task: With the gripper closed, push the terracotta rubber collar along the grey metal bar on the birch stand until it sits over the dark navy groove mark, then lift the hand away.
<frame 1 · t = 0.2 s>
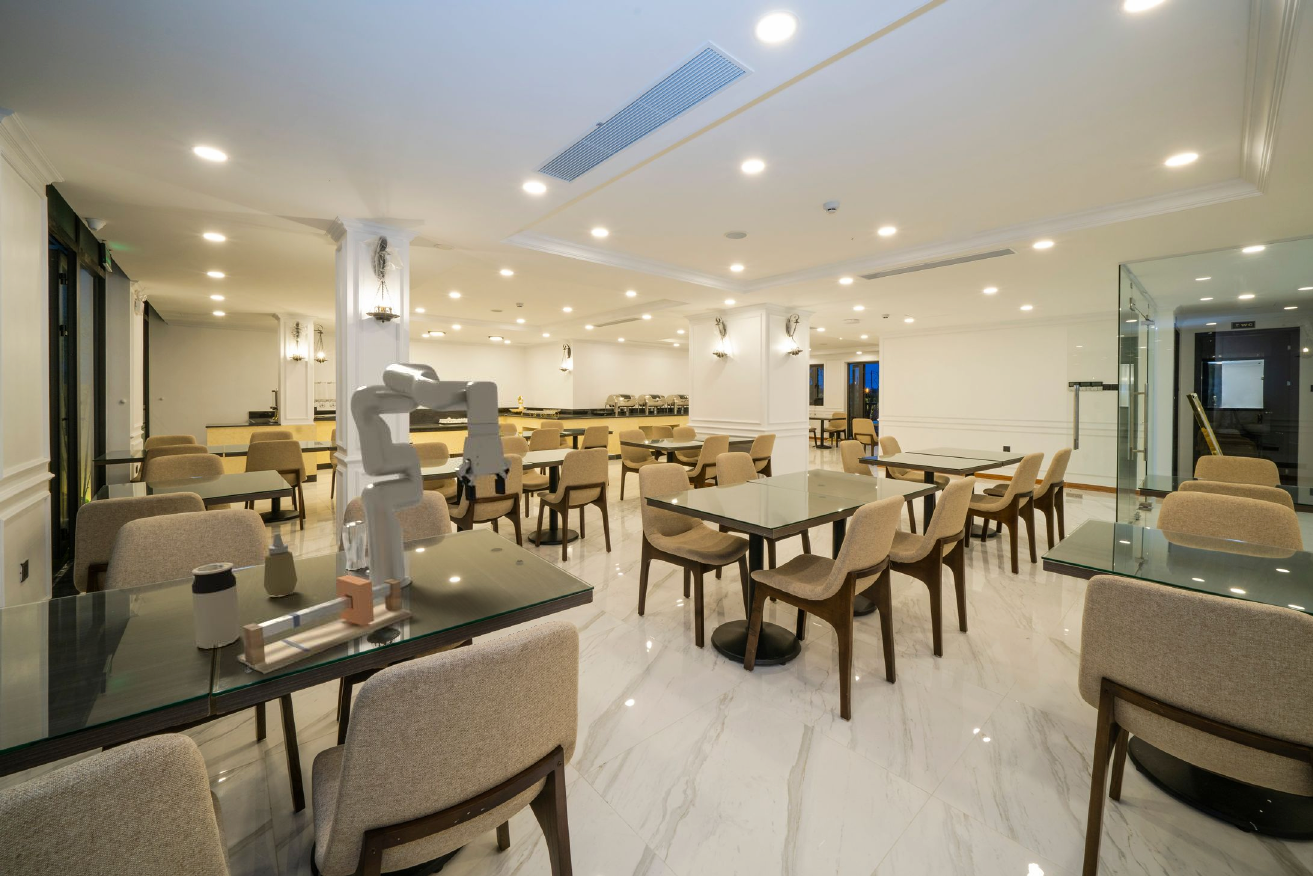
hand: (486, 497, 140), 31 cm above the table, tool pointing down, fingers open, 9 cm apart
squeeze bottle: (281, 595, 159), on the table
beer glass: (356, 568, 183), on the table
collar: (355, 599, 135), point 7 cm above the table, slide at 0.0 cm
travel mug: (219, 643, 128), on the table
pipe stand: (332, 636, 131), on the table
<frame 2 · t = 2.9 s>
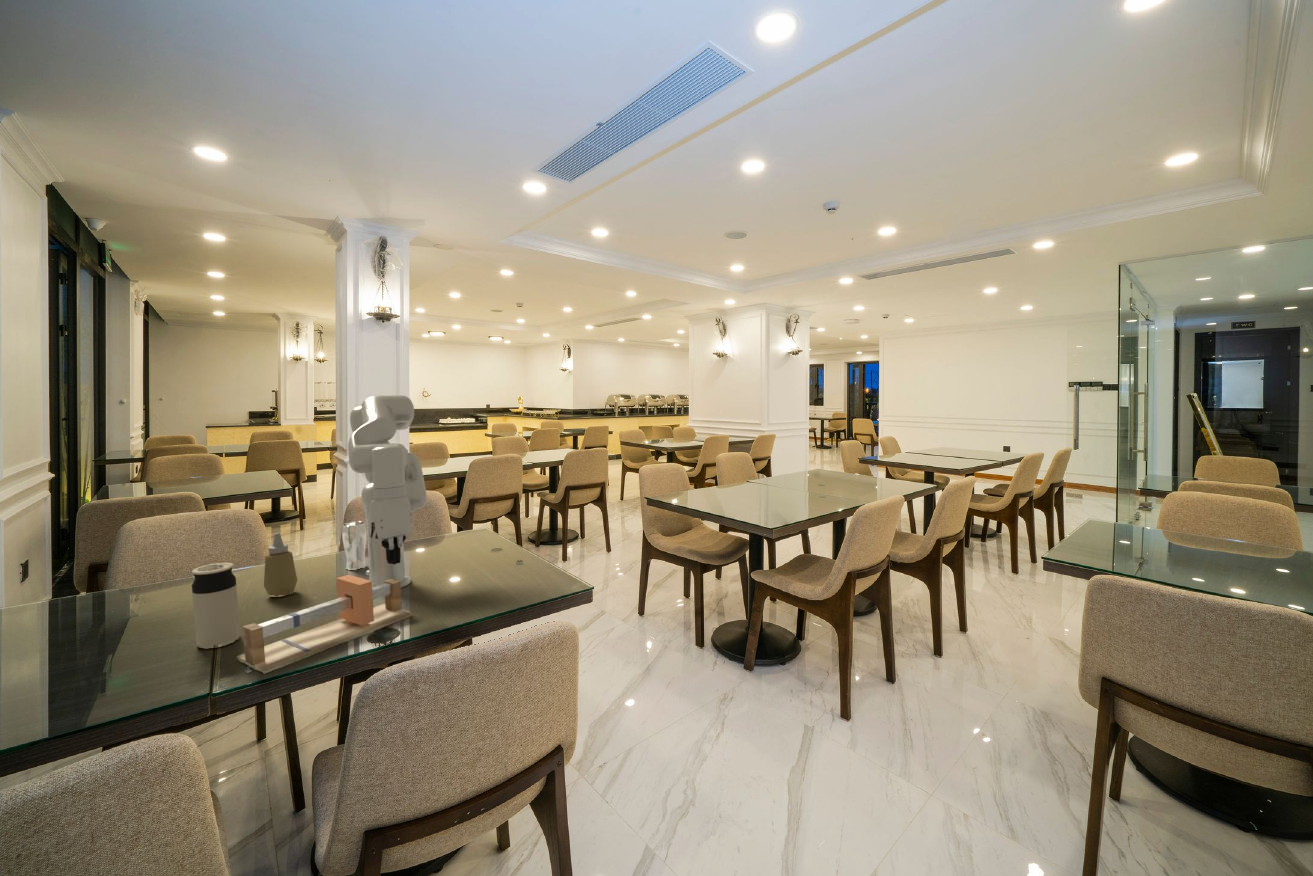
hand: (393, 563, 143), 13 cm above the table, tool pointing down, fingers closed
nothing on the table moved.
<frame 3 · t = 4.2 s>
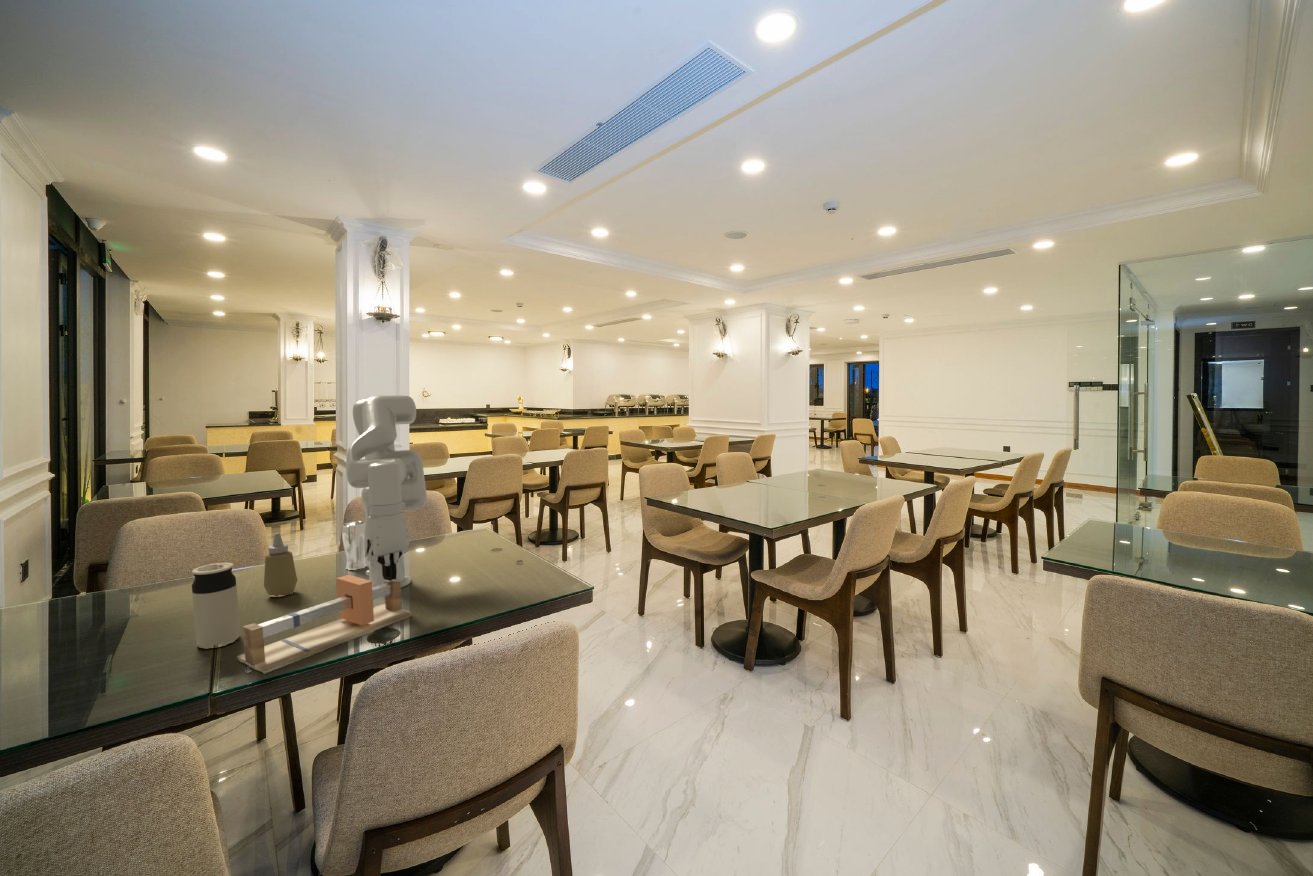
hand: (389, 578, 143), 9 cm above the table, tool pointing down, fingers closed
nothing on the table moved.
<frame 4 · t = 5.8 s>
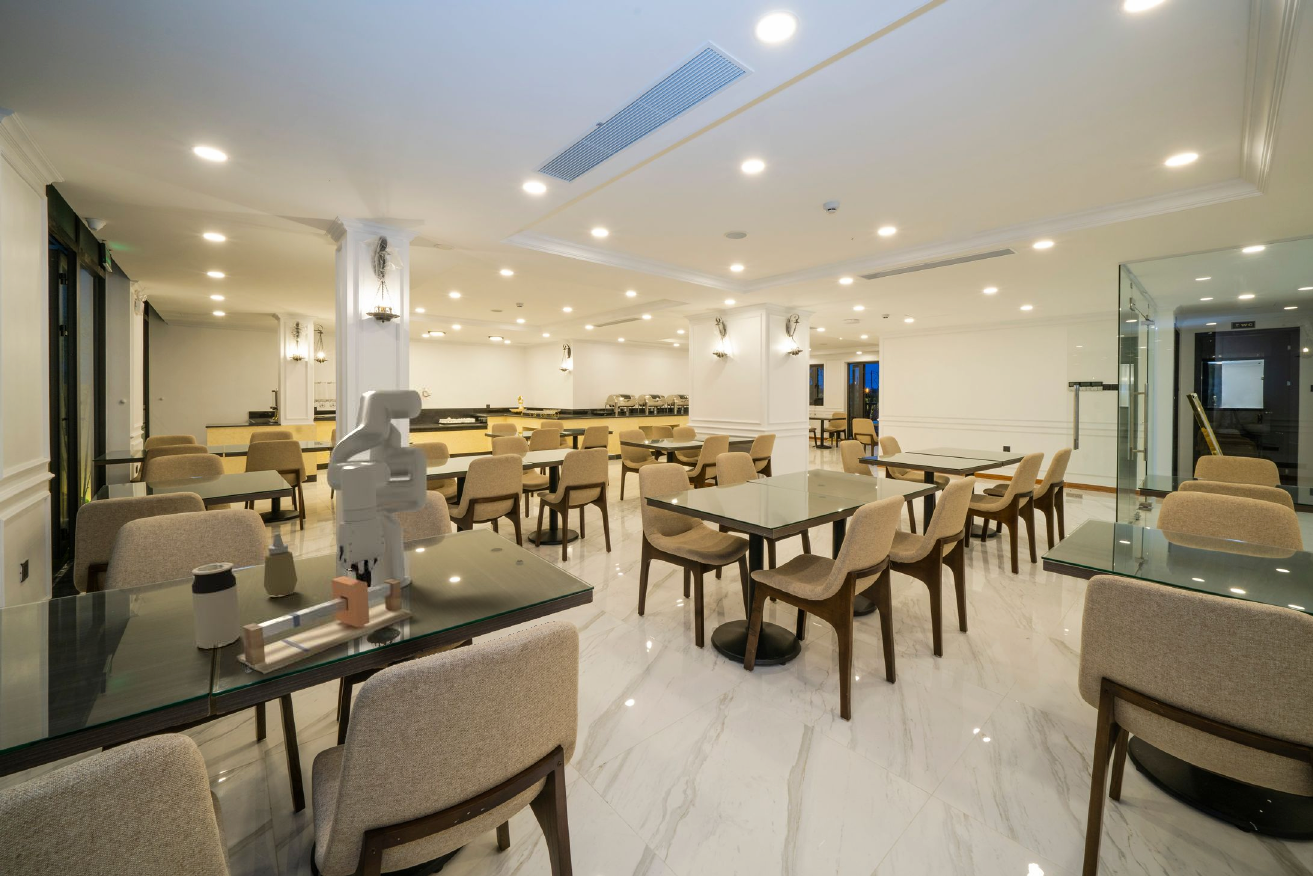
hand: (364, 586, 137), 9 cm above the table, tool pointing down, fingers closed
collar: (350, 601, 134), point 7 cm above the table, slide at 1.2 cm, touching gripper
everything else where it was.
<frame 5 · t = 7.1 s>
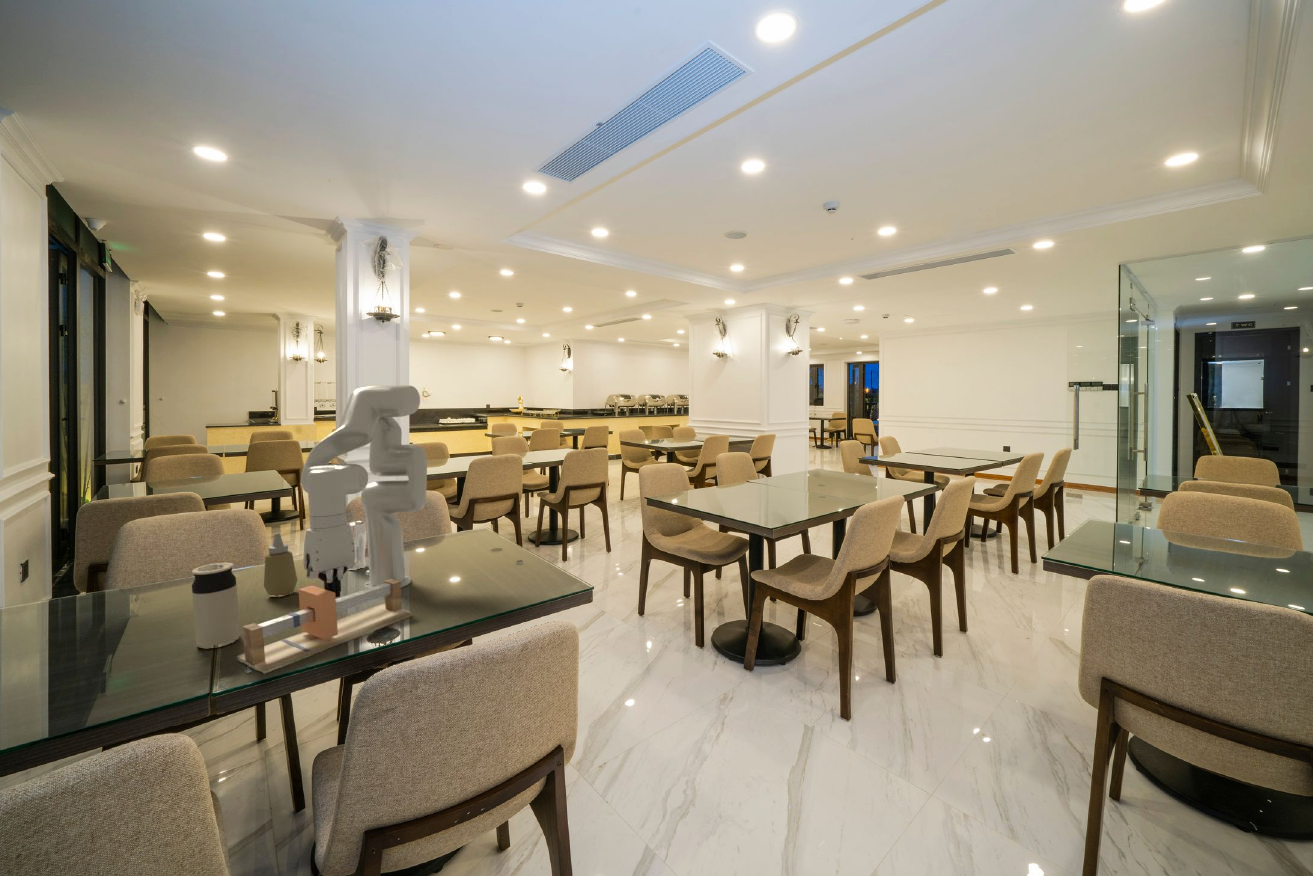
hand: (333, 596, 131), 9 cm above the table, tool pointing down, fingers closed
collar: (318, 611, 128), point 7 cm above the table, slide at 8.8 cm, touching gripper
everything else where it was.
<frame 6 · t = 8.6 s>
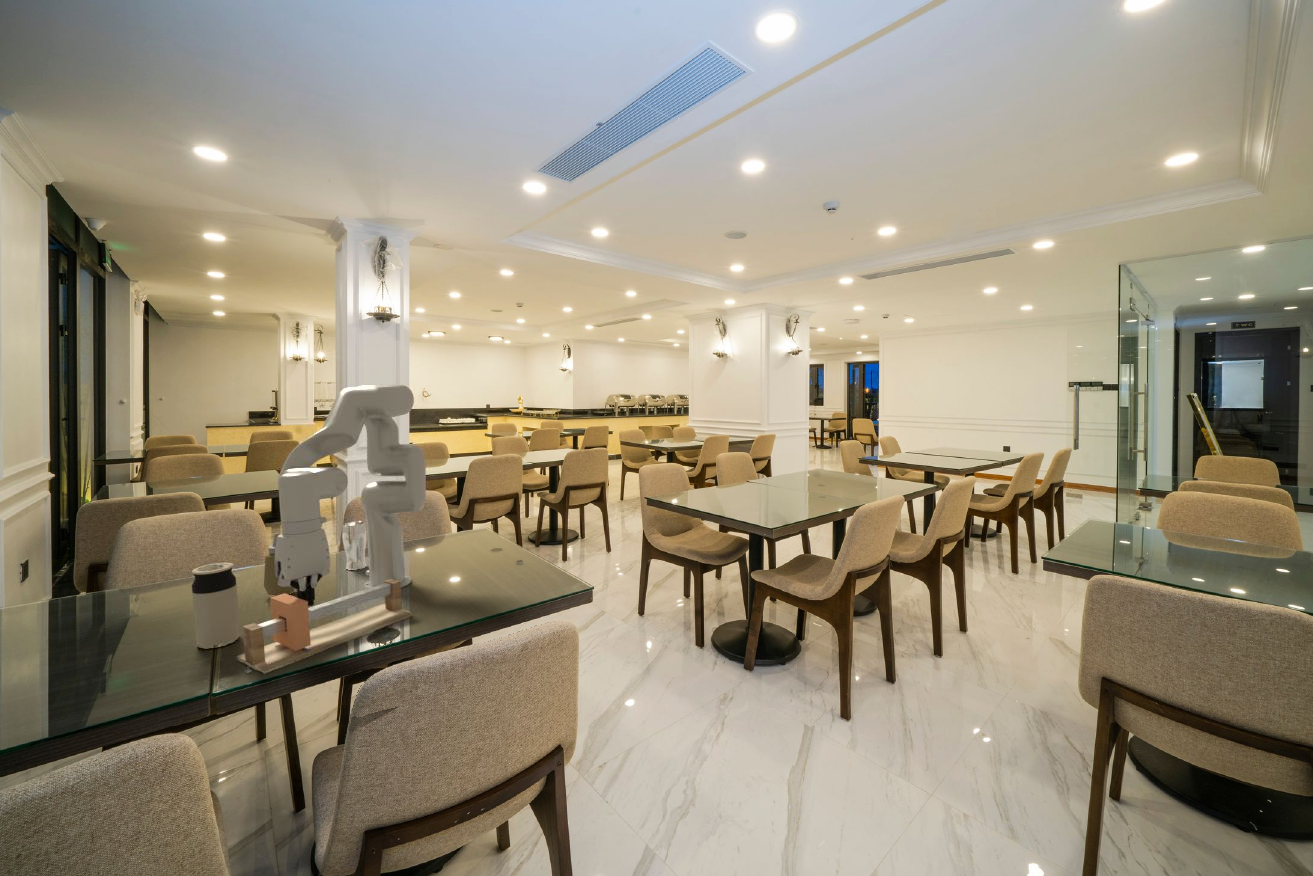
hand: (306, 605, 126), 9 cm above the table, tool pointing down, fingers closed
collar: (290, 621, 123), point 7 cm above the table, slide at 14.7 cm, touching gripper
everything else where it was.
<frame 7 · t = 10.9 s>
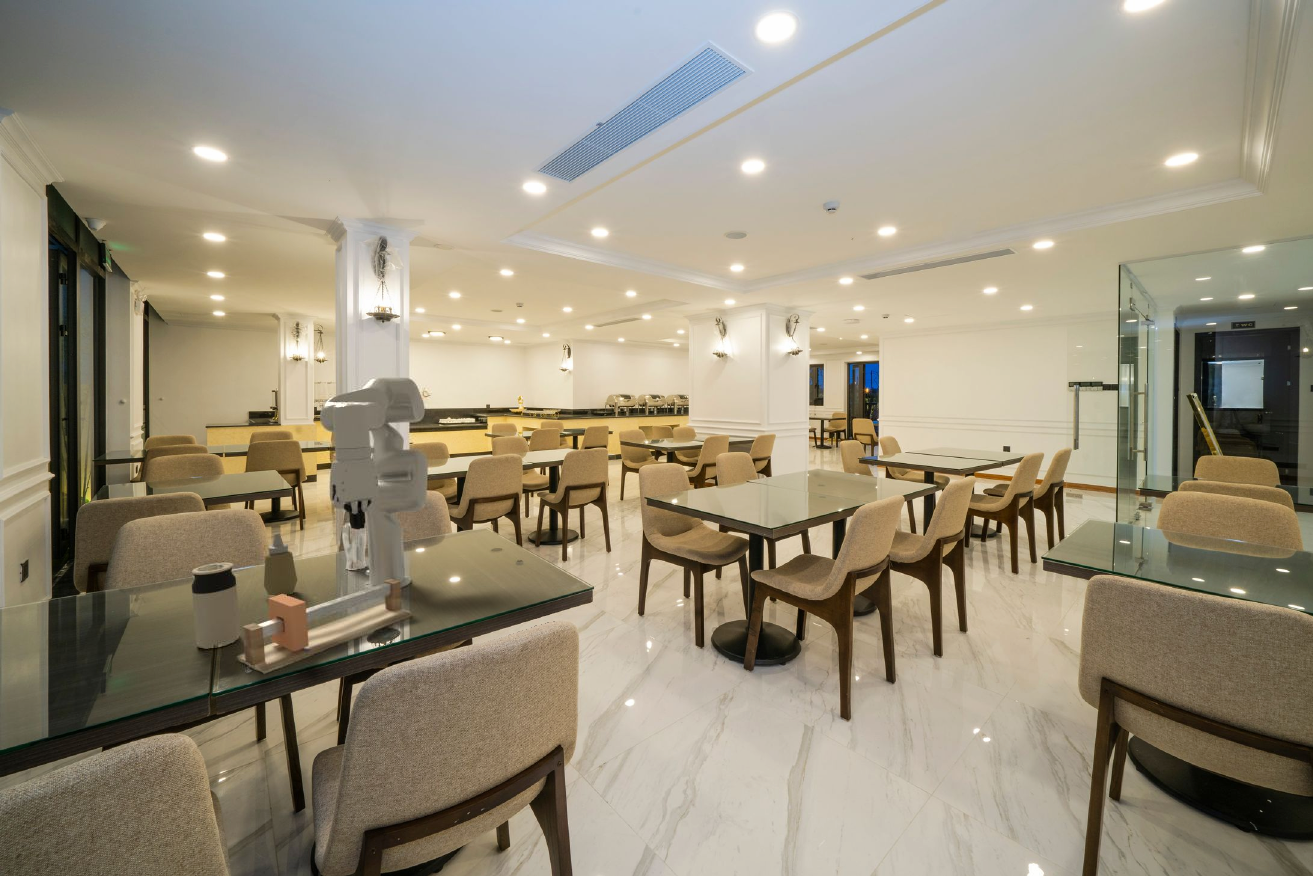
hand: (358, 528, 136), 24 cm above the table, tool pointing down, fingers closed
collar: (288, 621, 122), point 7 cm above the table, slide at 15.2 cm
everything else where it was.
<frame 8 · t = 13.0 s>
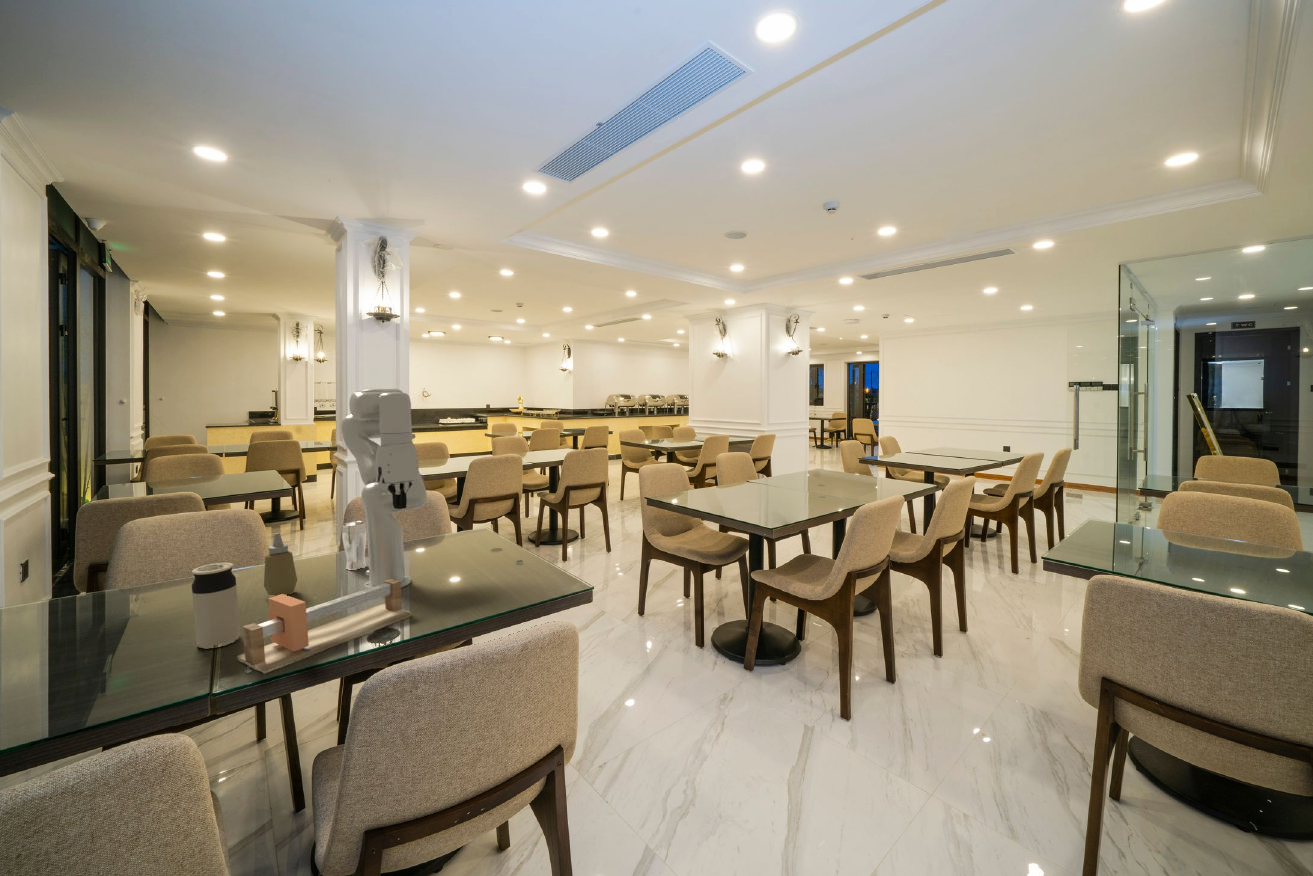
hand: (400, 508, 146), 27 cm above the table, tool pointing down, fingers closed
nothing on the table moved.
at the end: collar slide at 15.2 cm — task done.
